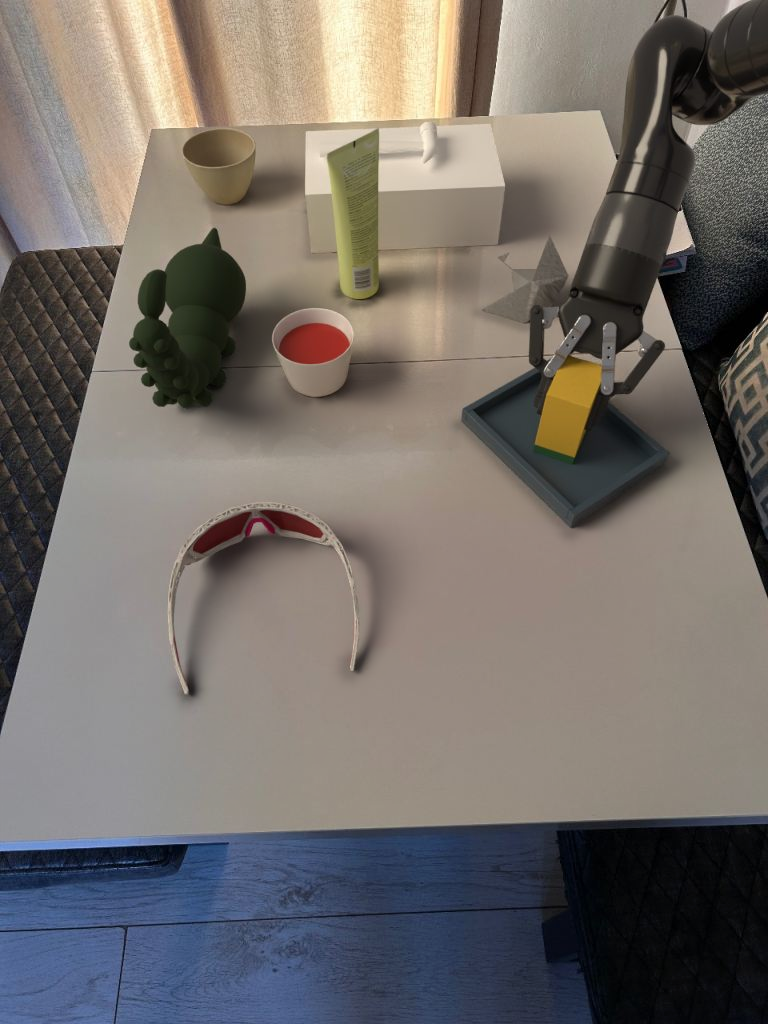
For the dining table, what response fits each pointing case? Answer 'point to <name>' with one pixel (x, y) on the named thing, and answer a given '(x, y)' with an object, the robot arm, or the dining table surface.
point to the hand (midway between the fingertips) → (564, 421)
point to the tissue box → (416, 186)
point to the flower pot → (221, 163)
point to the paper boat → (532, 286)
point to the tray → (562, 486)
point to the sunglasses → (239, 525)
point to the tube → (356, 213)
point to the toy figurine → (188, 323)
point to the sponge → (568, 409)
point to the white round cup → (314, 350)
